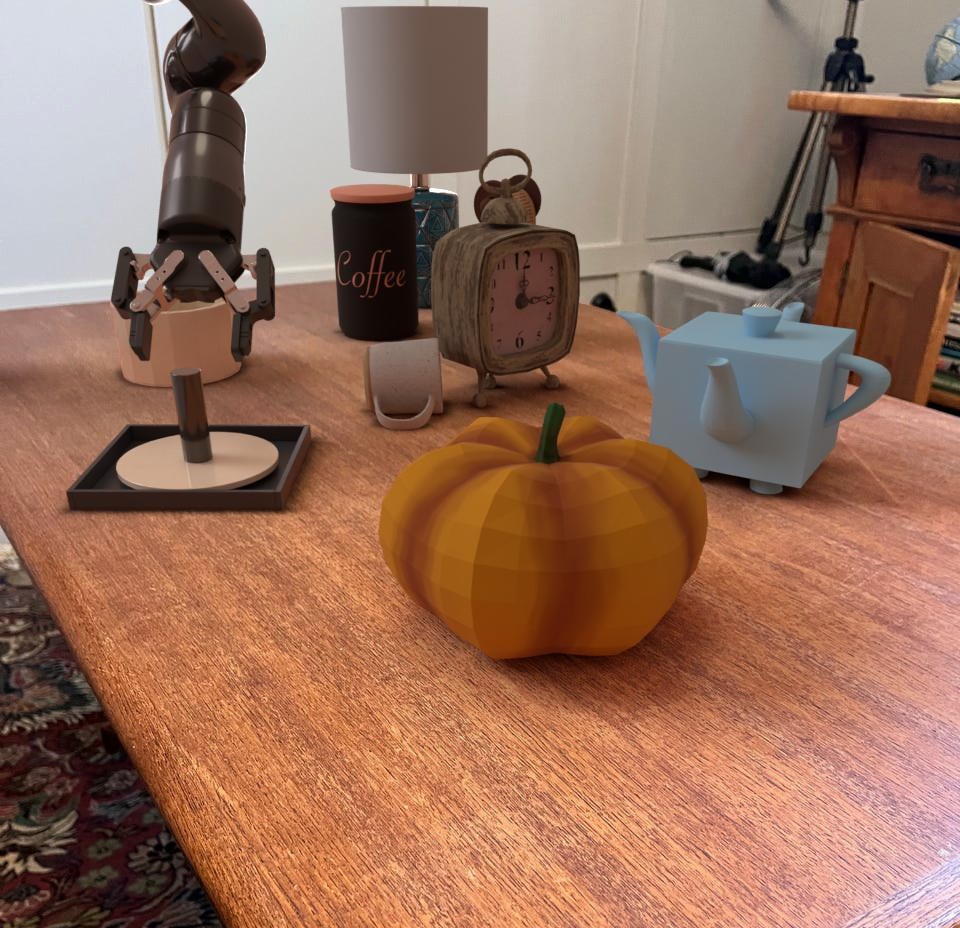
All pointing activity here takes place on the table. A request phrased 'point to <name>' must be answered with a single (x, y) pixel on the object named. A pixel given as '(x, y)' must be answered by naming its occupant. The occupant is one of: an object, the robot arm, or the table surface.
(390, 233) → the coffee jar
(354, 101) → the lamp
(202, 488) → the lid
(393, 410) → the ceramic mug
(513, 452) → the decorative pumpkin
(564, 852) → the table surface
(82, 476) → the tray
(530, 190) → the dark rounded piece
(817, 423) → the teakettle
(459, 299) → the tabletop clock
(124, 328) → the canister
